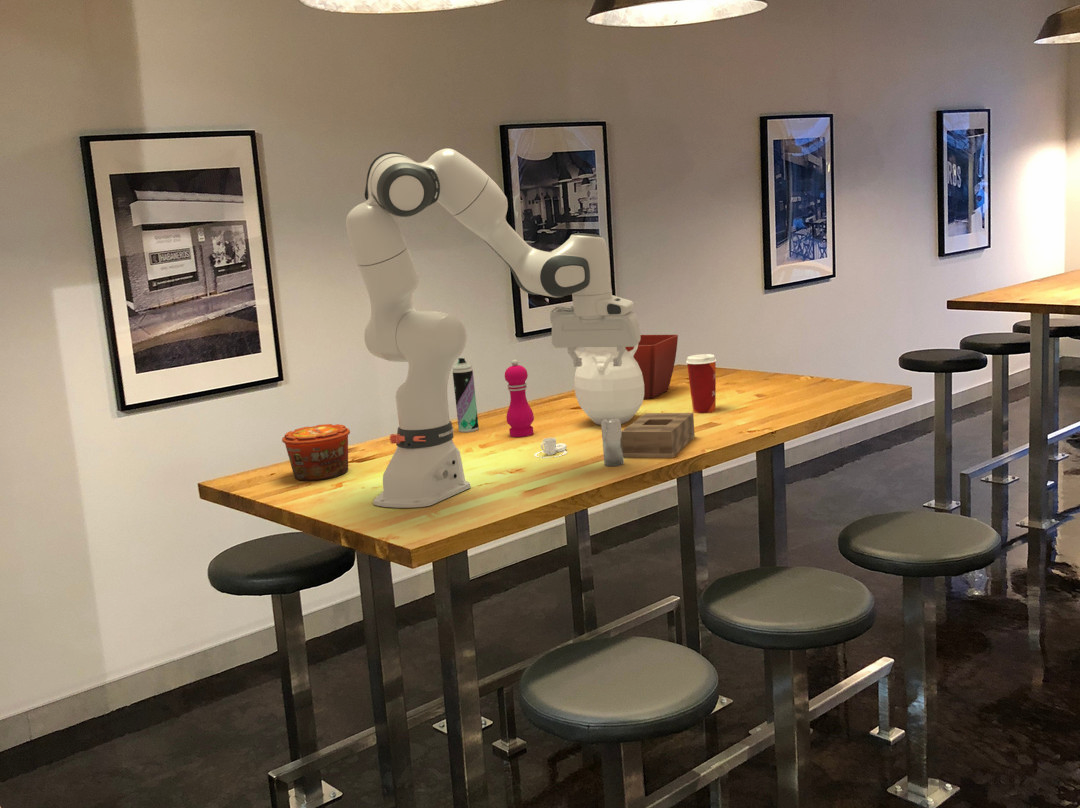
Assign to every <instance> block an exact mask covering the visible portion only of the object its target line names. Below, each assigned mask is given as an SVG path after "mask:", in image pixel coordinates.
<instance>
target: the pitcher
mask: <svg viewBox="0 0 1080 808" xmlns="http://www.w3.org/2000/svg"><path fill="white" fill-rule="evenodd" d="M583 348H584V351H582V350H581V349H580V347H576V351H575V353H576V354H577V356H578V358H582V361H581V362H582V366H581V367H576V370H575V372H574V381H573V383H574V384H573V386H574V394H575V398H576V400H577V402H578V405H579V407H580V408H581V409H582V411H583V412H584V413H585V414H586V416H588V418H590V420H592V422H593V423H594V424H596V425H598V426H601V421H602V420H606V419H620V420H621V425H622V424H625V423H628V422H629V421H630V420H631V419H632V418H633V417H634V416H635V415H636V414H637V412H638V411H639V409H640V408H641V406H642V405H643V402H644V399H643V398H644V381H643V376H642V372H641V369H640V367H639V365H638V363H637V361H636V360H635V359H634V357H633V356H634V354H635V352H636V350H637V348H638V344H637V345H636V346H634V349H633V350H631V351H629V352H628V351H627V350H625V352H624V354H623V356H622V357H621V359H622V365H621V366H613V364H614V362H613V359H614V358H615V357H617V356H618V354H619V352H620V351H619V352H618V351H617V347H583Z"/></svg>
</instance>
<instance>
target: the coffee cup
mask: <svg viewBox="0 0 1080 808" xmlns="http://www.w3.org/2000/svg"><path fill="white" fill-rule="evenodd" d="M717 361H718V360H717V359H716V356H715V354H712V353H702V354H701V353H700V354H693V355H689V356H687V358H686V361H685V363H686V364H687V372H688V380H689V389H690V398H691V405H692V406H691V407H692V411H693V412H692V413H696V414H707V413H709V414H710V413H713V412H715V411H716V404H717V403H716V399H717V398H716V397H717V395H716V392H717V391H716V386H717V385H716V384H717V383H716V375H717V374H716V369H717V367H716V365H717V364H716V362H717Z"/></svg>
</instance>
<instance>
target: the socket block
mask: <svg viewBox="0 0 1080 808" xmlns="http://www.w3.org/2000/svg"><path fill="white" fill-rule="evenodd" d="M694 422H695V420H694V412H646V413H644V414H642V415H641V416H640V417H639V418H637V419H636V420H634V421H633V422H632V423H631V424H629V425H628V426H626V427H625V428H624V429H621V432H622V445H623V458H650V459H651V458H653V459H654V458H655V459H656V458H658V459H659V458H661V459H662V458H667V459H668V458H669V459H671V458H672V459H673V458H674V457H675V456H676V455H677V454H679V453H680V452H681V451H682V450H683V448H685V447H686V446H687V445H688V444H689V443H690V442H691V441H692V440H693V439H694V438H695V423H694Z"/></svg>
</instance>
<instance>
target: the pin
mask: <svg viewBox="0 0 1080 808" xmlns="http://www.w3.org/2000/svg"><path fill="white" fill-rule="evenodd" d="M600 426H601V428H600V429H601V438H602V439H601V441H602V451H603V461H604V463H603V465H604V466H605V467H610V468H611V467H614V468H615V467H620V466H622V465H624V464H625V461H624V458H625V457H623V445H622V432H621V431H622V424H621V420H620V419H606V420H602V421H601V425H600Z"/></svg>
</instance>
